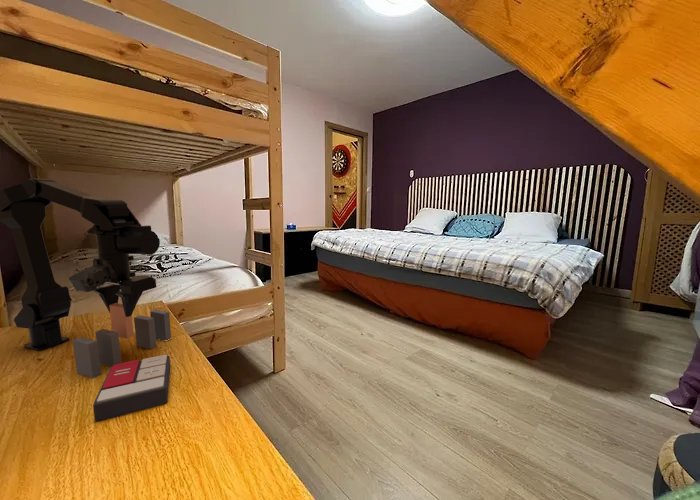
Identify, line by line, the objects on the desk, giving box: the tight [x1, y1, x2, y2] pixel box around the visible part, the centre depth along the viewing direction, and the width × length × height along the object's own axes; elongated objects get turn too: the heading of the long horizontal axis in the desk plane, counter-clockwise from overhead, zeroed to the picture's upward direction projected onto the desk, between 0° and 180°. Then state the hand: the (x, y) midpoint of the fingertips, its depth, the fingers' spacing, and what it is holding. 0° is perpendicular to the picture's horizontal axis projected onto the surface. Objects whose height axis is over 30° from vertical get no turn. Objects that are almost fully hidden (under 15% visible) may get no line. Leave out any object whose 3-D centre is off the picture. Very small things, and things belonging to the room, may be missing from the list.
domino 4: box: [133, 314, 157, 350], centre depth 78 cm, size 5×2×8 cm, turn 72°
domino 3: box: [109, 302, 135, 340], centre depth 73 cm, size 5×2×8 cm, turn 72°
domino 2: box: [95, 328, 123, 368], centre depth 69 cm, size 5×2×8 cm, turn 72°
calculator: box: [92, 354, 171, 423], centre depth 61 cm, size 11×4×15 cm
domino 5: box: [149, 308, 172, 341], centre depth 82 cm, size 5×2×8 cm, turn 72°
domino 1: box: [72, 336, 102, 379], centre depth 65 cm, size 5×2×8 cm, turn 72°
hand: (120, 314), depth 73 cm, fingers closed on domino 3, 5 cm apart
